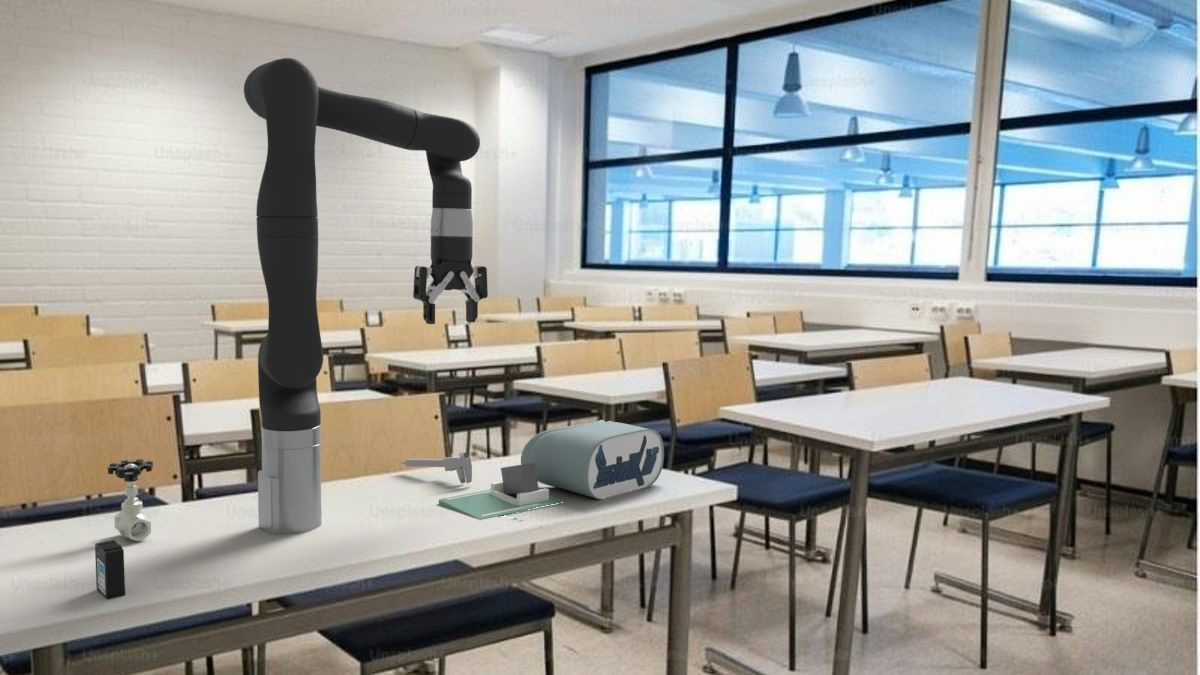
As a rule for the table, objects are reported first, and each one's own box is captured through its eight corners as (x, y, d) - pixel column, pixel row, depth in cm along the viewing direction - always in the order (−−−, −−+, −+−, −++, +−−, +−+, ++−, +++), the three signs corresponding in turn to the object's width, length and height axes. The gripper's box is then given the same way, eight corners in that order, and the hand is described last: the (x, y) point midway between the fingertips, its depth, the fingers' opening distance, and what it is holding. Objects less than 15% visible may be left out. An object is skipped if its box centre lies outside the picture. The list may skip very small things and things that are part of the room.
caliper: (471, 484, 179) (472, 453, 179) (467, 485, 178) (468, 454, 178) (405, 464, 192) (406, 434, 191) (401, 465, 191) (401, 435, 190)
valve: (117, 547, 141) (114, 472, 139) (103, 536, 145) (101, 463, 144) (162, 538, 145) (160, 465, 144) (147, 528, 150) (145, 456, 149)
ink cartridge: (96, 599, 122) (93, 541, 121) (114, 595, 123) (112, 537, 122) (106, 611, 118) (104, 551, 117) (125, 606, 120) (123, 547, 119)
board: (480, 526, 156) (480, 507, 155) (438, 505, 166) (438, 488, 166) (563, 507, 167) (564, 490, 167) (519, 489, 178) (520, 473, 177)
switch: (521, 464, 165) (499, 468, 171) (525, 492, 165) (503, 494, 171) (534, 462, 167) (512, 465, 173) (538, 489, 167) (516, 492, 172)
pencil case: (586, 509, 167) (588, 441, 165) (517, 487, 180) (518, 423, 178) (663, 487, 183) (665, 424, 181) (594, 468, 196) (596, 409, 194)
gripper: (427, 233, 158) (426, 326, 160) (496, 235, 167) (494, 323, 169) (406, 232, 164) (406, 322, 165) (474, 234, 173) (473, 319, 175)
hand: (450, 322), depth 167 cm, fingers open, 8 cm apart
